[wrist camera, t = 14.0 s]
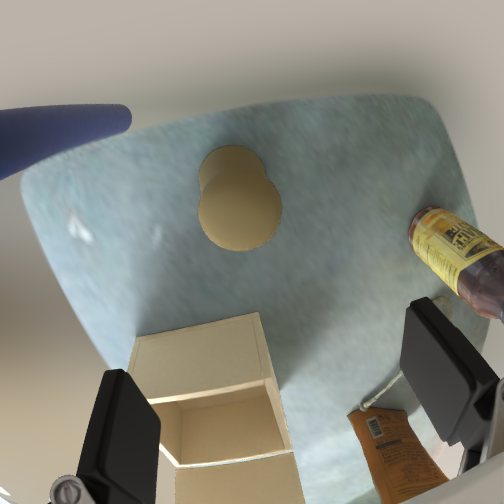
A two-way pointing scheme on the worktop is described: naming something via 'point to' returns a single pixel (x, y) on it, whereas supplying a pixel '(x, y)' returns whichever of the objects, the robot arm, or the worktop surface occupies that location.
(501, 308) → the sauce bottle
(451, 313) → the soupspoon
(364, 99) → the worktop surface
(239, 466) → the lid
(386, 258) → the worktop surface
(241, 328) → the cream open box
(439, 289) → the worktop surface
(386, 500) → the pancake mix bag
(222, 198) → the cork
